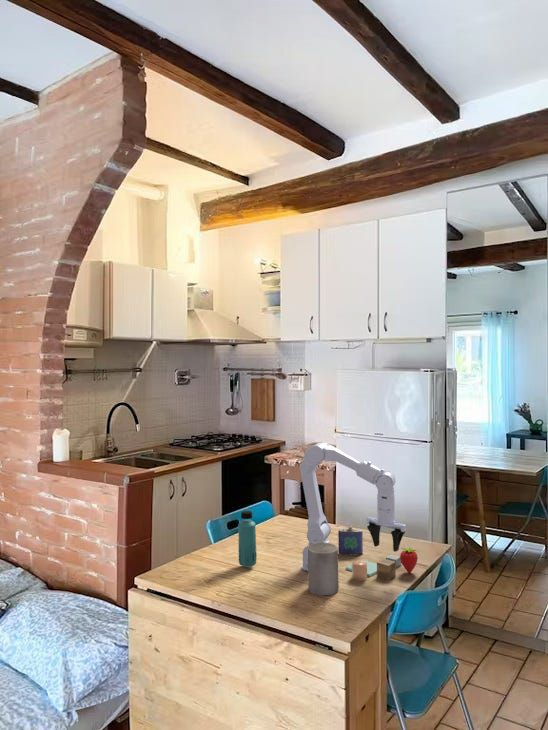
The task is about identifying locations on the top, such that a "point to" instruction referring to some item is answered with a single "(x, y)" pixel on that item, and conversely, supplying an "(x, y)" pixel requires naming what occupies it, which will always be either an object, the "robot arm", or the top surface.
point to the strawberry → (408, 559)
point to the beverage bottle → (247, 540)
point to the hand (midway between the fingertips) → (386, 548)
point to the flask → (350, 541)
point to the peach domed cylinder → (359, 570)
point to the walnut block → (386, 569)
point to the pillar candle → (323, 569)
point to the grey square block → (394, 559)
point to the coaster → (370, 568)
